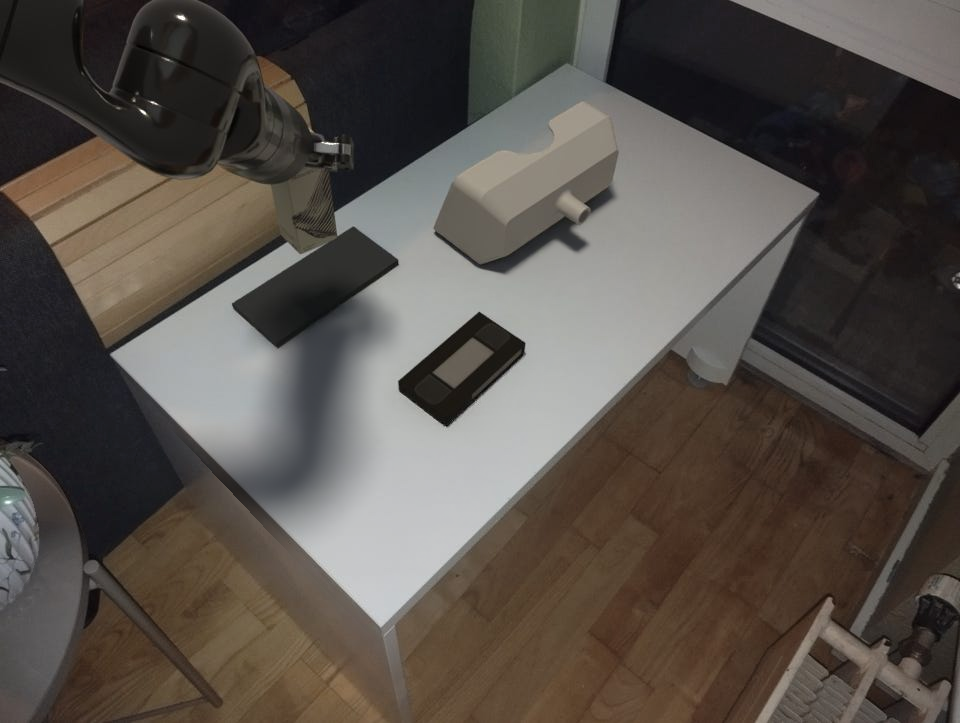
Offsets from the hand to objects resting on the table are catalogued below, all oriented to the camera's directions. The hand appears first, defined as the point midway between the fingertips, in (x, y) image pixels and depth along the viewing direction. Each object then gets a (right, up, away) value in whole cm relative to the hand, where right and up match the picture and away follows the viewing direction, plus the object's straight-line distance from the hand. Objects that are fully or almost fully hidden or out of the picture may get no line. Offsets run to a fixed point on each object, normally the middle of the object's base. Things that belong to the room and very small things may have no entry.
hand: (300, 159), depth 80 cm
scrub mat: (-2, -11, +19) cm, 22 cm away
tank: (+27, -1, +28) cm, 39 cm away
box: (0, -7, +7) cm, 10 cm away
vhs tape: (+17, -23, +11) cm, 30 cm away
